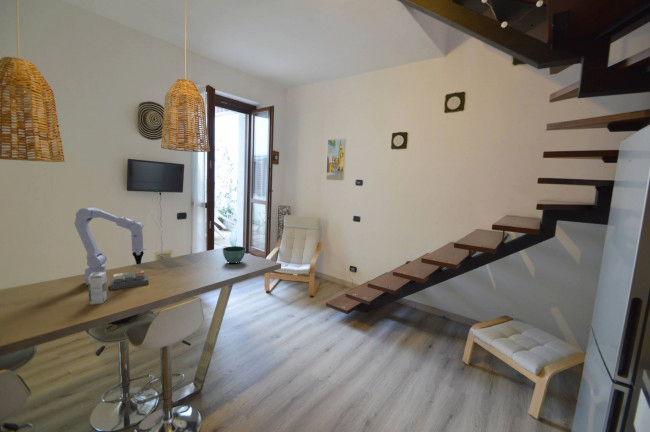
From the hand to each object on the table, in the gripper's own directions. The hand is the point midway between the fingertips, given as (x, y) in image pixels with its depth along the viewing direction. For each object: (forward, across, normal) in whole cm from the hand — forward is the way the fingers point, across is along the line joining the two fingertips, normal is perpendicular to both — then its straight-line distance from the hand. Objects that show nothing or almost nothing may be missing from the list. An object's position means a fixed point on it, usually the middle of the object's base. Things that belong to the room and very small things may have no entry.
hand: (138, 263), depth 172 cm
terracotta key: (+7, -8, 0) cm, 11 cm away
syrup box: (+10, -28, +18) cm, 35 cm away
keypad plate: (+9, -8, +5) cm, 13 cm away
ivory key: (+7, -8, +10) cm, 15 cm away
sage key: (+7, -8, +5) cm, 12 cm away
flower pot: (+10, +5, -60) cm, 61 cm away
